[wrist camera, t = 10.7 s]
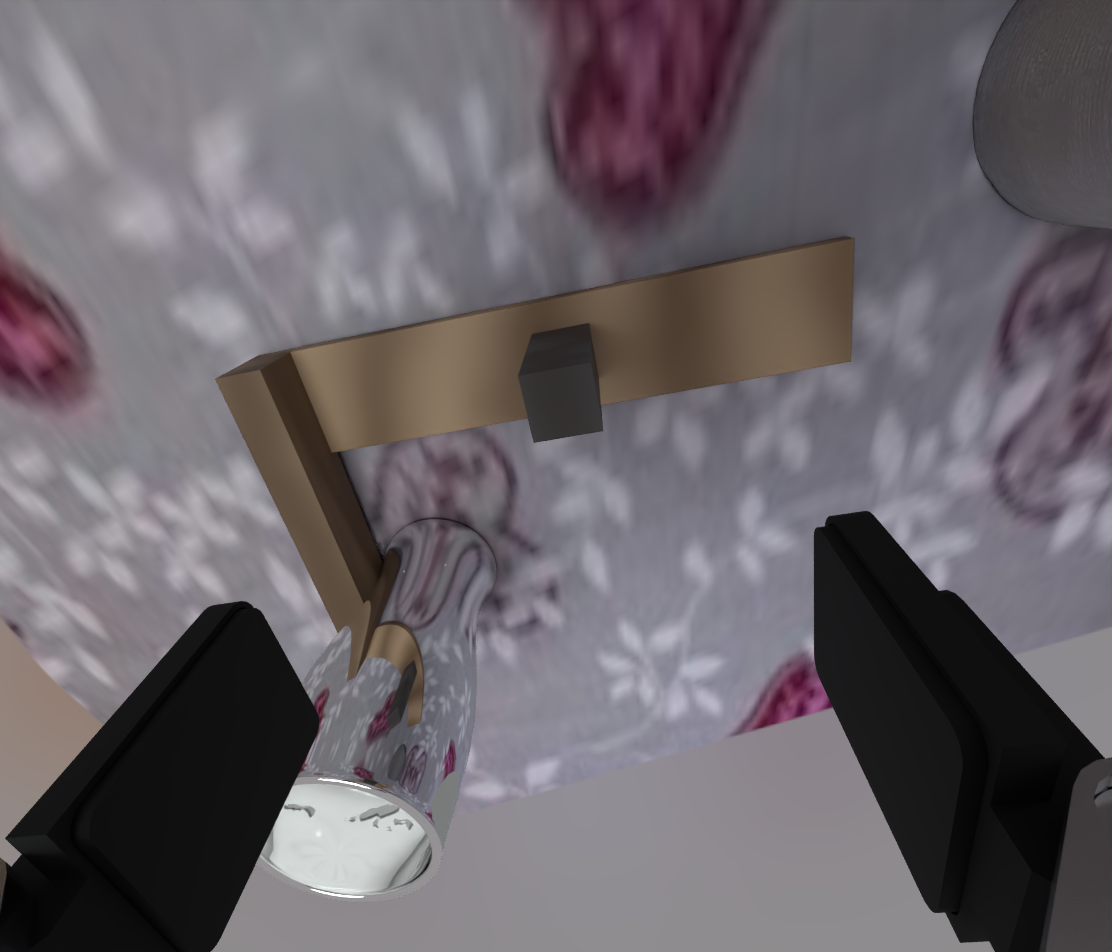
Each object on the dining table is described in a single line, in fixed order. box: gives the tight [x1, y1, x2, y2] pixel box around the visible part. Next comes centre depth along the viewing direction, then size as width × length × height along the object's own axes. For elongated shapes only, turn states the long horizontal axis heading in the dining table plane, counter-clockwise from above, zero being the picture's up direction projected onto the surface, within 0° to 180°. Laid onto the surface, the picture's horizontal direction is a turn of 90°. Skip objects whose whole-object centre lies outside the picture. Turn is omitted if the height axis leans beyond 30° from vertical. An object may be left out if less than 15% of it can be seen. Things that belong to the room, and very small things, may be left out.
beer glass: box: [256, 519, 497, 902], centre depth 25 cm, size 7×7×15 cm
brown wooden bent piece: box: [215, 237, 854, 633], centre depth 26 cm, size 26×18×7 cm
